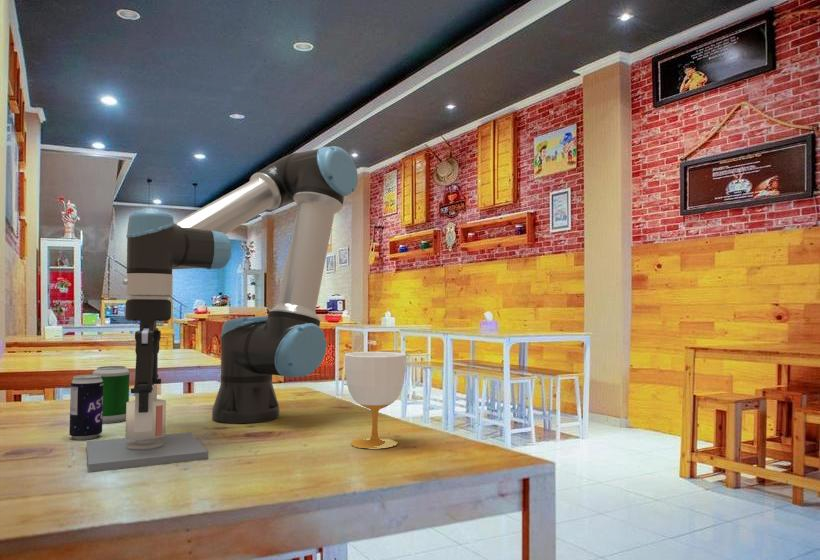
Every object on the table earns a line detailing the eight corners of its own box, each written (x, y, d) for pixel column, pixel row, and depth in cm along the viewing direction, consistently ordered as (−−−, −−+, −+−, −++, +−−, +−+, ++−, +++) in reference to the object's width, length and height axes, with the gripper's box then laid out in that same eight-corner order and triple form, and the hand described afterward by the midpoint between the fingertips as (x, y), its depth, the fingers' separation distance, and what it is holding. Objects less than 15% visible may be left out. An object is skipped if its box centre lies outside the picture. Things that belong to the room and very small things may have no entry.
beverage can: (88, 441, 116) (89, 378, 116) (62, 439, 117) (64, 377, 117) (108, 435, 121) (110, 374, 122) (83, 433, 122) (85, 374, 123)
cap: (127, 433, 109) (128, 399, 109) (166, 431, 111) (166, 398, 111) (123, 441, 103) (124, 405, 103) (164, 438, 105) (164, 403, 105)
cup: (418, 444, 115) (418, 354, 116) (373, 454, 107) (374, 357, 107) (375, 434, 123) (376, 350, 124) (330, 444, 115) (331, 353, 115)
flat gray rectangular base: (190, 438, 119) (190, 424, 119) (207, 458, 103) (208, 442, 103) (86, 448, 110) (87, 433, 110) (88, 472, 94) (88, 454, 95)
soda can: (135, 419, 137) (136, 366, 138) (103, 425, 131) (105, 369, 132) (116, 416, 141) (117, 364, 142) (84, 421, 135) (85, 367, 136)
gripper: (132, 298, 117) (129, 416, 116) (117, 297, 96) (113, 440, 95) (174, 299, 119) (171, 414, 118) (168, 297, 99) (165, 437, 98)
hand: (145, 425), depth 107 cm, fingers open, 9 cm apart
